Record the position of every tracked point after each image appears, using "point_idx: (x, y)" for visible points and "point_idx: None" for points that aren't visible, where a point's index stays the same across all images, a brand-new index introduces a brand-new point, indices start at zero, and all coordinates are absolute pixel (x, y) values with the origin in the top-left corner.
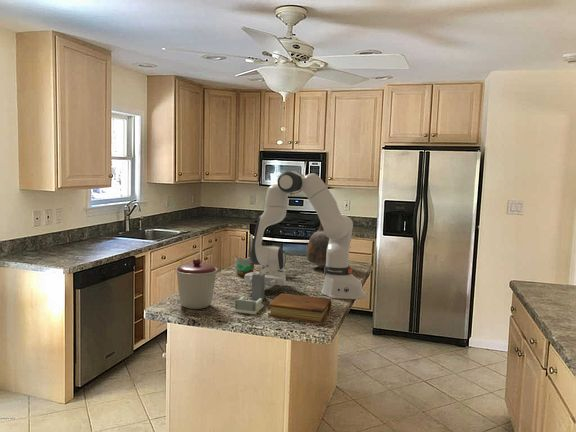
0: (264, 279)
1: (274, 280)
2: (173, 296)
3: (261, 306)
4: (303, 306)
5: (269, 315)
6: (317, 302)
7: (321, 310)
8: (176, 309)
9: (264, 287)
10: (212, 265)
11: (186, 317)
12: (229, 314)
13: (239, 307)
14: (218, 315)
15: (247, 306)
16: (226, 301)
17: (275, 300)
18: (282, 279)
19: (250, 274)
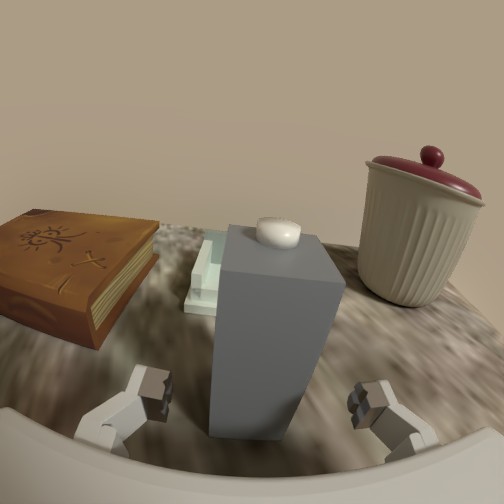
0: (215, 326)
1: (100, 408)
2: (488, 322)
3: (189, 289)
4: (61, 217)
5: (155, 254)
6: (6, 235)
7: (35, 209)
8: None
9: (211, 392)
10: (417, 164)
11: (344, 245)
12: None
13: None
14: None
15: None
16: (363, 336)
17: (133, 237)
18: (4, 408)
19: (480, 465)
